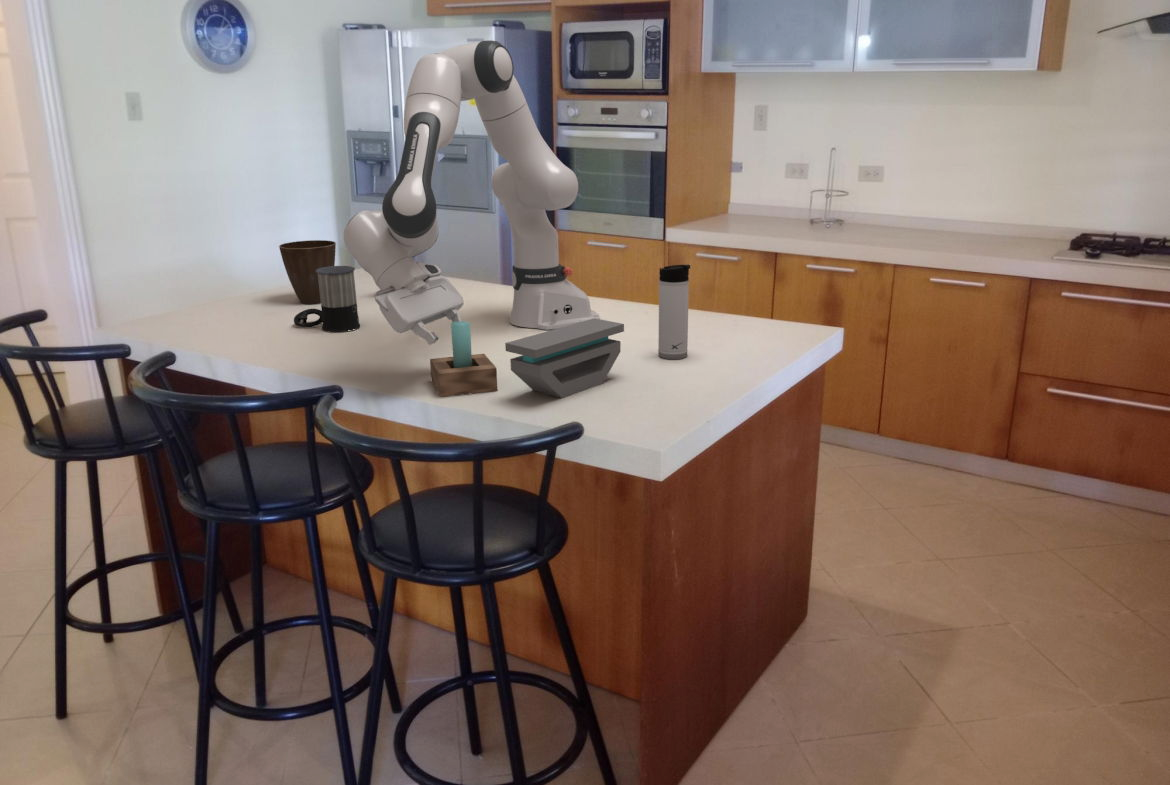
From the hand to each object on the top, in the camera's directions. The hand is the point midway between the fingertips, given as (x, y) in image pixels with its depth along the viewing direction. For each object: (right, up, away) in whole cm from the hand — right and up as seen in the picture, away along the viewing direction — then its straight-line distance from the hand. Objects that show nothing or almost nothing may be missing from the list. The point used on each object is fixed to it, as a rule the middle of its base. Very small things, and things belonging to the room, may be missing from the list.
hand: (448, 336), depth 184 cm
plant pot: (-49, +14, +78) cm, 93 cm away
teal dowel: (+3, -9, +2) cm, 10 cm away
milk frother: (-37, +5, +49) cm, 62 cm away
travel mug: (+46, -3, +20) cm, 50 cm away
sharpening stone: (+23, -10, 0) cm, 25 cm away
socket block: (+3, -10, +2) cm, 10 cm away
